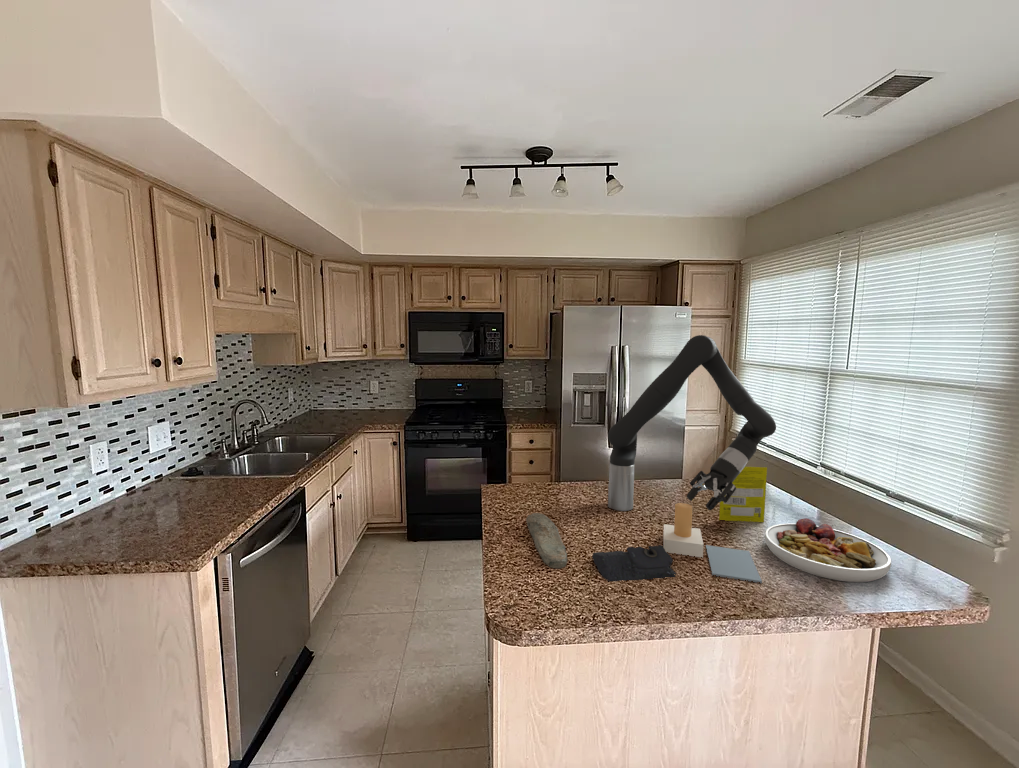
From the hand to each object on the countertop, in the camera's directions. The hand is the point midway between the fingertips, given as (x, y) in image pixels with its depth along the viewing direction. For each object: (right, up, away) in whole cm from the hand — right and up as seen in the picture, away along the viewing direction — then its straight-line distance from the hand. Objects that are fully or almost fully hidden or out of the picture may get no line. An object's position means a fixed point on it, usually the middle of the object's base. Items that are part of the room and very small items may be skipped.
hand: (698, 503), depth 138 cm
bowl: (+33, -15, -8) cm, 37 cm away
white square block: (-5, -13, 0) cm, 14 cm away
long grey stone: (-48, -13, +3) cm, 50 cm away
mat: (+5, -14, -11) cm, 19 cm away
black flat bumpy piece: (-24, -15, -13) cm, 31 cm away
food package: (+24, -12, +19) cm, 33 cm away
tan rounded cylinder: (-5, -9, -1) cm, 11 cm away
